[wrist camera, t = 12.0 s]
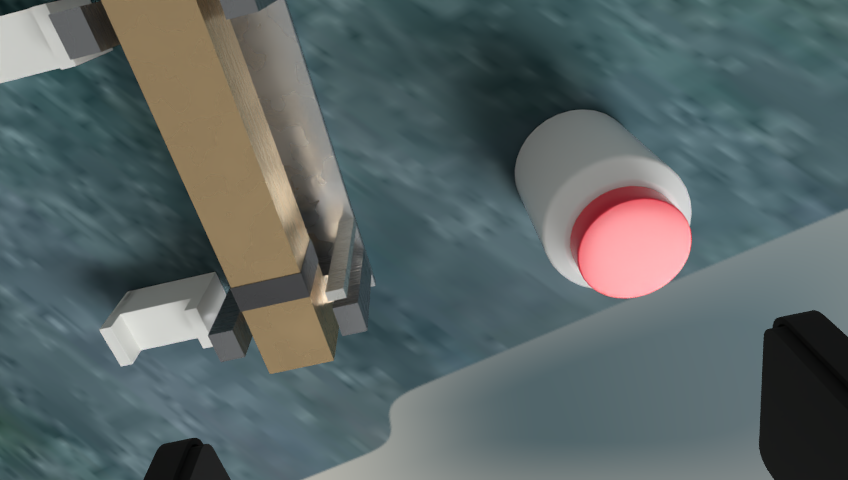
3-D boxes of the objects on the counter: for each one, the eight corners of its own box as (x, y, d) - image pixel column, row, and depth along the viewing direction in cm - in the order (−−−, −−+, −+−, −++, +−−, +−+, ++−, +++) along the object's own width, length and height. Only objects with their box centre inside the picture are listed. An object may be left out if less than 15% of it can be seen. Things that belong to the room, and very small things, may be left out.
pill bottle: (533, 98, 36) (583, 161, 26) (652, 121, 37) (743, 190, 27) (501, 213, 40) (535, 306, 30) (611, 231, 41) (678, 327, 31)
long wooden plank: (123, -39, 29) (84, -34, 26) (202, -60, 29) (174, -58, 25) (280, 333, 40) (269, 374, 36) (340, 321, 39) (334, 360, 36)
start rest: (-22, 23, 33) (-78, 35, 29) (87, -6, 32) (45, 3, 29) (146, 326, 43) (121, 366, 39) (232, 307, 42) (215, 346, 38)
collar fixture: (105, -22, 32) (9, -5, 24) (265, -65, 32) (221, -61, 24) (252, 309, 42) (218, 398, 34) (375, 282, 42) (370, 365, 34)
